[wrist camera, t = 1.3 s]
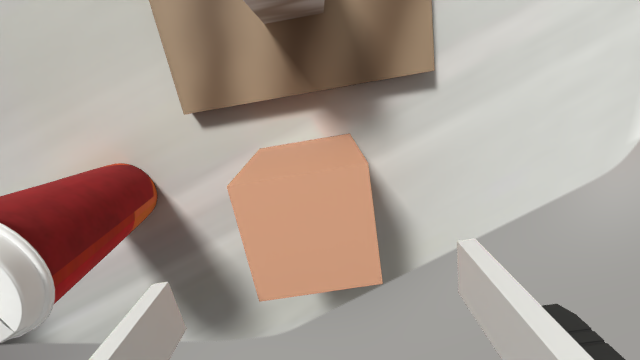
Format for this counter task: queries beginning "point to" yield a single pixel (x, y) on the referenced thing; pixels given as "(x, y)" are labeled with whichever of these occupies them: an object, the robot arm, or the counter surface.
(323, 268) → the peach bevelled cube
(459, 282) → the robot arm
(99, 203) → the paper cup
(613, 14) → the counter surface
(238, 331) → the counter surface
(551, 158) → the counter surface
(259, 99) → the wooden base with block
